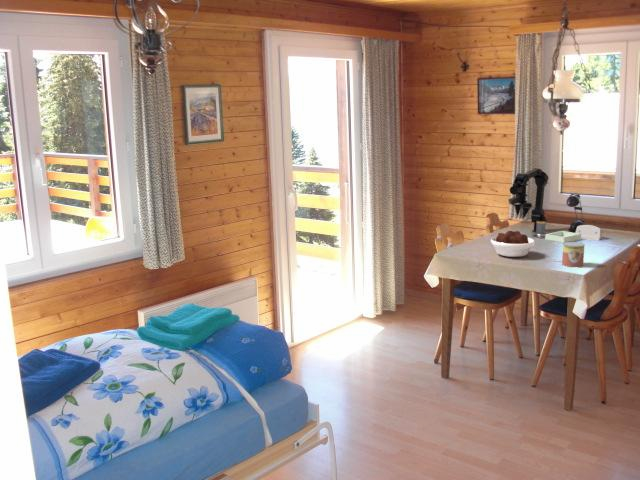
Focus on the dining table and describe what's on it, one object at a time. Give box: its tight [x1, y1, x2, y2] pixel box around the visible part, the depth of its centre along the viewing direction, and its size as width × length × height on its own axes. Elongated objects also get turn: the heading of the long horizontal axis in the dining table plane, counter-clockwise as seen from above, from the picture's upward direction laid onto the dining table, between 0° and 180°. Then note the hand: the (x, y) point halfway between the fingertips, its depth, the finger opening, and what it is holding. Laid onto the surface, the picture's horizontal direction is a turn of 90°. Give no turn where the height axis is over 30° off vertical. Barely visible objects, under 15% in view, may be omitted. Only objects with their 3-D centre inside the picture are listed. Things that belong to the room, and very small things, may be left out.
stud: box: [530, 234, 546, 239], centre depth 480 cm, size 9×9×2 cm
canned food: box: [561, 241, 585, 268], centre depth 402 cm, size 11×11×12 cm
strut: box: [535, 221, 547, 235], centre depth 479 cm, size 4×4×8 cm
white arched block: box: [574, 224, 602, 242], centre depth 473 cm, size 17×5×10 cm, turn 54°
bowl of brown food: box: [490, 230, 536, 258], centre depth 426 cm, size 25×25×15 cm
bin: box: [544, 230, 582, 244], centre depth 469 cm, size 18×14×4 cm
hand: (520, 216), depth 479 cm, fingers open, 9 cm apart
